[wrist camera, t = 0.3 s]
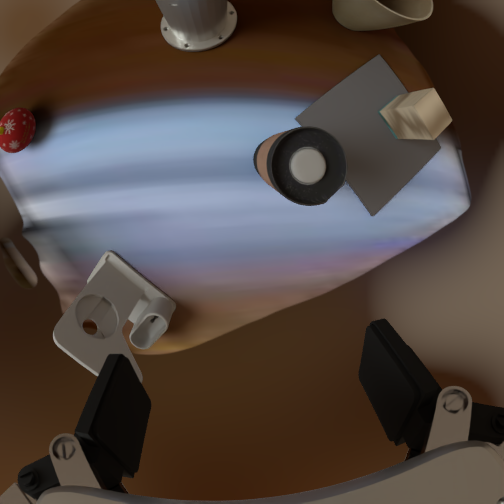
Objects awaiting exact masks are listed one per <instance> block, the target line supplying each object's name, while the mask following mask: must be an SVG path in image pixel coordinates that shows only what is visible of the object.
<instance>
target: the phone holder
mask: <svg viewBox="0 0 504 504" xmlns="http://www.w3.org/2000/svg"><path fill="white" fill-rule="evenodd" d="M175 309H176V303H175V302H174V301H173V300H172V299H171V298H170V297H168V296H167V295H166V294H164V293H163V292H162V291H161V290H159V289H158V288H157V287H156V286H154V285H153V284H152V283H151V282H149V281H148V280H147V279H146V278H144V277H143V276H142V275H141V274H139V273H138V272H137V271H136V270H135V269H133V268H132V267H131V266H130V265H129V264H127V263H126V262H125V261H124V260H123V259H122V258H120V257H119V256H118V255H117V254H116V253H115V252H113V251H107V252H106V253H104V255H103V256H102V258H101V259H100V261H99V263H98V264H97V266H96V267H95V269H94V270H93V272H92V274H91V275H90V277H89V279H88V281H87V285H86V286H85V288H84V289H83V290H82V291H81V293H80V294H79V295H78V296H77V298H76V299H75V300H74V302H73V303H72V304H71V306H70V307H69V308H68V310H67V311H66V312H65V314H64V315H63V316H62V318H61V319H60V321H59V322H58V323H57V325H56V326H55V328H54V332H53V338H54V341H55V343H56V345H57V346H58V347H60V348H61V349H62V350H63V351H64V352H66V353H67V354H68V355H69V356H71V357H72V358H73V359H74V360H76V361H77V362H78V363H80V364H81V365H82V366H84V367H85V368H86V369H88V370H89V371H91V372H92V373H93V374H95V375H96V376H98V375H99V373H100V371H101V369H102V367H103V364H104V362H105V360H106V358H107V356H108V355H109V354H123V355H124V356H125V357H127V358H128V359H129V360H130V362H131V364H132V366H133V368H134V370H135V372H136V374H137V376H138V378H139V380H140V382H142V373H141V371H140V369H139V368H138V365H137V363H136V362H135V360H134V358H133V355H132V353H131V351H130V349H129V347H128V345H127V343H126V341H125V339H124V337H123V334H122V328H123V326H124V324H125V322H126V321H127V319H129V320H130V321H131V322H133V323H134V326H133V328H132V331H131V333H130V336H129V338H130V341H131V343H132V344H133V345H134V346H136V347H137V348H140V349H148V348H150V347H151V346H152V345H153V344H154V343H155V342H156V341H157V340H158V339H159V338H160V337H161V336H162V335H163V334H164V333H165V331H166V330H167V329H168V326H169V323H170V319H171V316H172V313H173V312H174V311H175ZM155 315H156V316H155ZM86 319H91V320H93V321H94V322H95V323H96V325H97V328H98V330H97V333H96V334H95V335H89V334H87V333H85V331H84V330H83V328H82V323H83V321H84V320H86Z"/></svg>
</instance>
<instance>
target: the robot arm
mask: <svg viewBox="0 0 504 504" xmlns="http://www.w3.org/2000/svg"><path fill="white" fill-rule="evenodd" d="M156 2H157V4H158V6H159V8H160V10H161V12H162V14H163V15H164V16H163V18H162V22H161V31H162V35H163V37H164V38H165V40H166V41H167V42H168V43H169V44H170V45H171V46H173V47H175V48H177V49H179V50H183V51H189V52H199V51H205V50H209V49H212V48H214V47H216V46H218V45H220V44H222V43H223V42H225V41H226V40H227V39H228V38H229V37H230V36H231V35H232V33H233V32H234V30H235V27H236V24H237V13H236V10H235V9H234V7H233V5H232V4H231V3H230V2H229V1H227V0H156ZM230 14H233V15H230ZM166 30H167V31H166ZM220 38H222V39H220ZM187 46H189V47H188V48H186V47H187ZM359 380H360V382H361V384H362V386H363V388H364V390H365V392H366V394H367V396H368V398H369V400H370V402H371V404H372V406H373V408H374V410H375V412H376V414H377V416H378V418H379V420H380V422H381V424H382V426H383V428H384V430H385V432H386V435H387V437H388V439H389V440H390V441H394V443H395V445H396V446H398V445H400V444H402V443H405V442H406V444H407V446H408V447H409V449H408V453H407V455H406V458H405V461H404V462H402V463H399V464H397V465H394V466H392V467H389V468H387V469H384V470H381V471H378V472H376V473H372V474H369V475H367V476H364V477H361V478H358V479H354V480H351V481H348V482H344V483H341V484H337V485H333V486H329V487H325V488H321V489H317V490H312V491H307V492H302V493H296V494H291V495H284V496H277V497H271V498H261V499H251V500H236V501H188V500H172V499H162V498H153V497H146V496H138V495H132V494H129V493H128V491H127V490H126V488H125V487H124V485H123V484H122V482H121V480H122V476H123V477H129V478H133V477H134V473H135V472H137V471H138V469H139V463H140V458H141V453H142V448H143V443H144V438H145V433H146V428H147V423H148V419H149V414H150V410H151V401H150V399H149V397H148V395H147V393H146V391H145V389H144V388H143V386H142V384H141V382H140V380H139V378H138V376H137V374H136V372H135V370H134V368H133V366H132V364H131V362H130V360H129V359H128V358H127V357H125V356H124V355H123V354H109V355H108V356H107V358H106V360H105V362H104V364H103V367H102V369H101V371H100V373H99V375H98V377H97V379H96V382H95V384H94V386H93V388H92V391H91V393H90V395H89V397H88V400H87V402H86V405H85V407H84V409H83V412H82V414H81V417H80V419H79V422H78V424H77V427H76V429H75V434H74V436H73V435H71V434H60V435H58V436H56V437H55V438H54V439H53V440H52V442H51V444H50V447H49V452H50V454H49V455H47V456H45V457H44V458H42V459H40V460H38V461H35V462H34V463H31V464H29V465H27V466H25V467H24V468H22V469H21V471H20V472H19V475H18V484H16V483H14V484H13V485H12V486H11V487H10V488H9V489H8V490H6V492H4V493H3V494H2V496H0V504H504V408H501V407H495V406H489V405H484V404H479V403H474V402H472V398H471V396H470V394H469V393H468V392H467V391H466V390H465V389H463V388H461V387H458V386H450V387H447V388H445V389H443V390H442V389H441V387H440V386H439V384H438V383H437V382H436V380H435V379H434V378H433V376H432V375H431V374H430V372H429V371H428V370H427V368H426V367H425V366H424V364H423V363H422V362H421V361H420V359H419V358H418V357H417V355H416V354H415V353H414V352H413V350H412V349H411V348H410V347H409V346H408V345H406V343H405V342H404V341H403V340H402V338H401V337H400V336H399V335H398V333H397V332H396V331H395V330H394V328H393V327H392V326H391V325H390V323H389V322H388V321H387V320H386V319H380V320H376V321H372V322H371V323H370V326H368V327H367V328H366V333H365V340H364V346H363V352H362V358H361V364H360V369H359Z"/></svg>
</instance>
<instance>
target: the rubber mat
mask: <svg viewBox="0 0 504 504" xmlns="http://www.w3.org/2000/svg"><path fill="white" fill-rule="evenodd" d="M406 93H408V92H407V90H406V89H405V87H404V86H403V85H402V83H401V82H400V80H399V79H398V78H397V76H396V75H395V74H394V72H393V71H392V70H391V68H390V67H389V66H388V64H387V63H386V62H385V61H384V59H383V58H382V57H381V56H380V55H377V56H376V57H374V58H373V59H372V60H370V61H369V62H367V63H366V64H365V65H363V66H362V67H360V68H359V69H358V70H356V71H355V72H353V73H352V74H351V75H349V76H348V77H347V78H345V79H344V80H343V81H341V82H340V83H339V84H337V85H336V86H335V87H333V88H332V89H331V90H330V91H328V92H327V93H326V94H324V95H323V96H322V97H321V98H319V99H318V100H317V101H316V102H314V103H313V104H312V105H311V106H309V107H308V108H307V109H306V110H304V111H303V112H302V113H301V114H300V115H298V116H297V117H296V118H295V120H296V121H297V122H298V123H299V124H300V125H301V126H302V127H305V126H311V127H317V128H320V129H323V130H325V131H327V132H329V133H330V134H332V135H333V136H334V137H335V138H336V139H337V140H338V141H339V143H340V144H341V145H342V147H343V149H344V151H345V154H346V158H347V164H348V169H347V177H346V181H347V183H348V184H349V185H350V187H351V188H352V189H353V191H354V192H355V193H356V195H357V196H358V197H359V199H360V200H361V202H362V203H363V205H364V206H365V207H366V209H367V210H368V212H369V213H370V215H371V216H374V215H375V214H376V213H377V212H378V211H379V210H380V209H381V208H382V207H383V206H384V205H385V204H386V203H387V202H388V201H389V200H390V199H391V198H392V197H393V196H394V195H395V194H396V193H397V192H398V191H399V190H400V189H401V188H402V187H403V186H404V185H405V184H406V183H407V182H408V181H409V180H410V179H411V178H412V177H413V176H414V175H415V174H416V173H417V172H418V171H419V170H420V169H421V168H422V167H423V166H424V165H425V164H426V163H427V162H428V161H429V160H430V159H431V158H432V157H433V156H434V155H435V154H436V152H437V151H438V150H439V149H440V148H441V147H440V145H439V143H438V141H437V139H436V138H435V139H434V140H425V139H396V138H395V137H394V135H393V134H392V132H391V131H390V129H389V128H388V126H387V125H386V123H385V122H384V120H383V119H382V118H381V116H380V115H379V113H378V111H379V110H380V109H382V108H383V107H384V106H385V105H386V104H387V103H389V102H390V101H391V100H392V99H393V98H395V97H396V96H398V95H402V94H406Z"/></svg>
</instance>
